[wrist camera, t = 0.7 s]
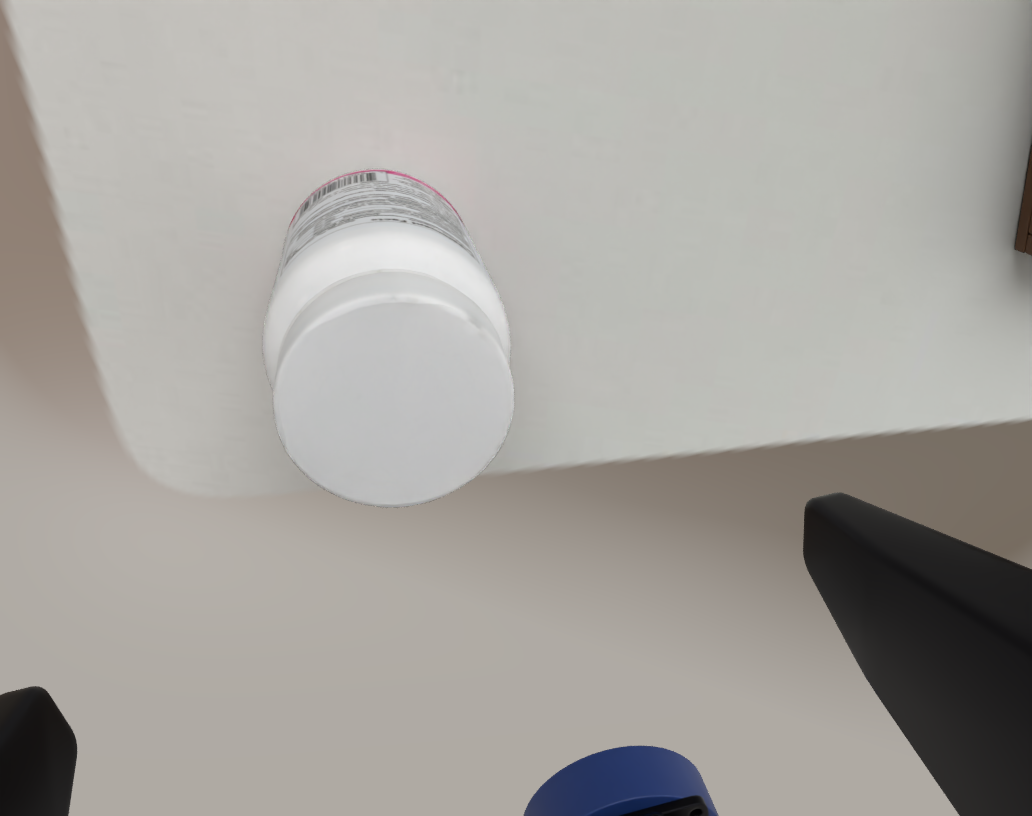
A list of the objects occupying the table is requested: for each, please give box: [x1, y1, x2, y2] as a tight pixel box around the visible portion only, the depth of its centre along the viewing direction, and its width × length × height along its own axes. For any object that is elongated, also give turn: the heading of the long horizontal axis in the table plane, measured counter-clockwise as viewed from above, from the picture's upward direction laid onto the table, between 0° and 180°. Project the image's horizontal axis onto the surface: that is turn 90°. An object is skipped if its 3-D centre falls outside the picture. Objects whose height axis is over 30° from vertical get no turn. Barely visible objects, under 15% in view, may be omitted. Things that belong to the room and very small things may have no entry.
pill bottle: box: [263, 169, 514, 508], centre depth 17 cm, size 5×5×8 cm
